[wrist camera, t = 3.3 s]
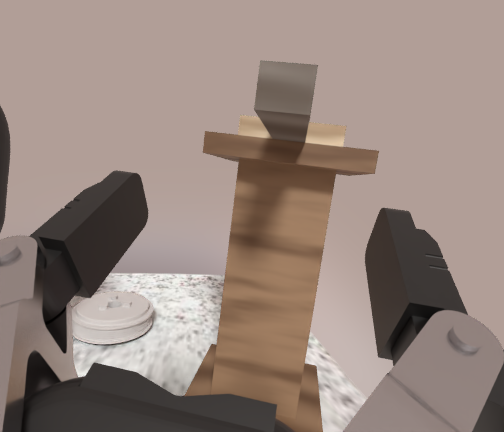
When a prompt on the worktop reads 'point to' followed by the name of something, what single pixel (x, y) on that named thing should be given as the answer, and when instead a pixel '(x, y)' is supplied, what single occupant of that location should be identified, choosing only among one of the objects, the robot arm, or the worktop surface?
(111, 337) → the lid
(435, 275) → the robot arm
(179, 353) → the worktop surface
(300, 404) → the tall stand
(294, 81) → the wooden board
